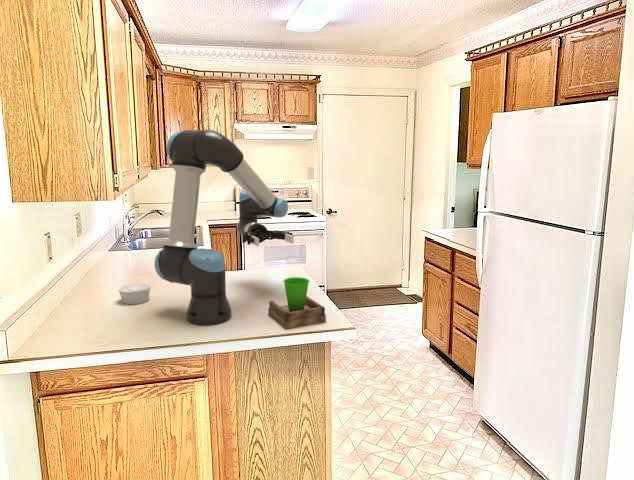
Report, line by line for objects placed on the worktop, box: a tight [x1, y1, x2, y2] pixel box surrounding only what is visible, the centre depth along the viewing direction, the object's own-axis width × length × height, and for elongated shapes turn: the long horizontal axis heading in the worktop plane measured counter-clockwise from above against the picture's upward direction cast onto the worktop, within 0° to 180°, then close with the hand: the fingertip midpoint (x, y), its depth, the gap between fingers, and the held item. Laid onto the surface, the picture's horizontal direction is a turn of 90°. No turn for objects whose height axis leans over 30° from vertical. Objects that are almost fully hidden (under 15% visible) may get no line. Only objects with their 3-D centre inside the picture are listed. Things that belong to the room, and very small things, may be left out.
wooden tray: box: [267, 295, 327, 330], centre depth 161 cm, size 15×15×5 cm
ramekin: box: [118, 283, 151, 305], centre depth 179 cm, size 11×11×5 cm
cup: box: [282, 276, 311, 312], centre depth 161 cm, size 9×9×11 cm
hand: (275, 241), depth 171 cm, fingers open, 13 cm apart
